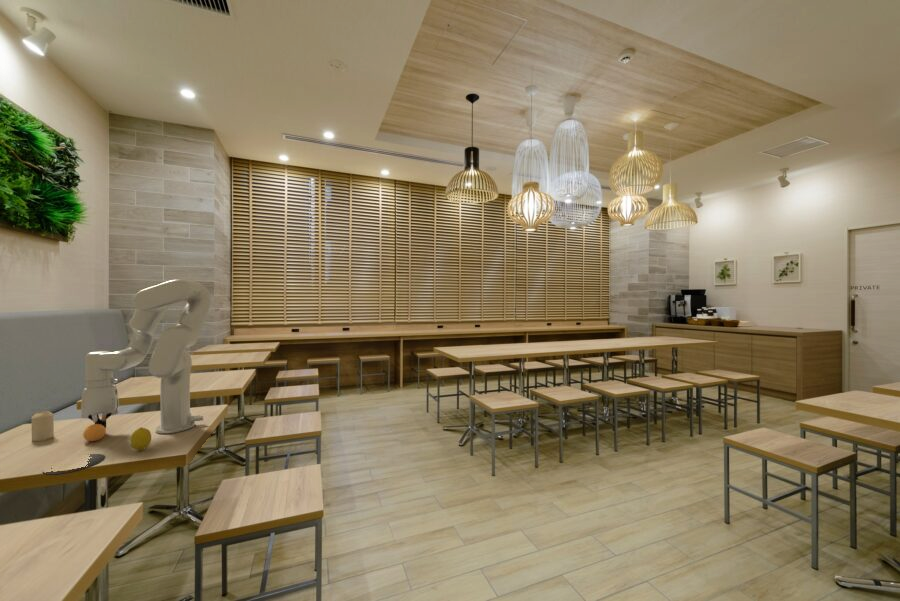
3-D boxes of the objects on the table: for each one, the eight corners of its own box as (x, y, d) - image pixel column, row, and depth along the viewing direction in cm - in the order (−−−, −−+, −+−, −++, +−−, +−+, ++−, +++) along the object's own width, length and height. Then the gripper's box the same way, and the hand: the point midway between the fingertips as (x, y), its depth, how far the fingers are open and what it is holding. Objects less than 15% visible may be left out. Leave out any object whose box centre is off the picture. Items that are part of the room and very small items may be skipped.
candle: (28, 442, 135) (27, 415, 134) (37, 437, 140) (36, 410, 139) (48, 440, 137) (48, 413, 137) (57, 434, 142) (56, 408, 142)
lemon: (139, 454, 124) (139, 430, 124) (126, 453, 126) (126, 429, 125) (155, 447, 130) (155, 425, 130) (142, 446, 131) (142, 424, 131)
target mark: (110, 451, 127) (110, 450, 127) (98, 467, 115) (98, 466, 115) (52, 460, 120) (52, 460, 120) (33, 479, 108) (33, 478, 108)
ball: (107, 436, 140) (107, 420, 140) (103, 441, 135) (103, 425, 135) (86, 439, 137) (85, 423, 137) (81, 445, 132) (80, 428, 132)
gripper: (127, 379, 149) (128, 424, 150) (76, 384, 142) (77, 431, 142) (122, 383, 143) (123, 430, 143) (69, 388, 135) (70, 438, 136)
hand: (100, 430), depth 143 cm, fingers closed
